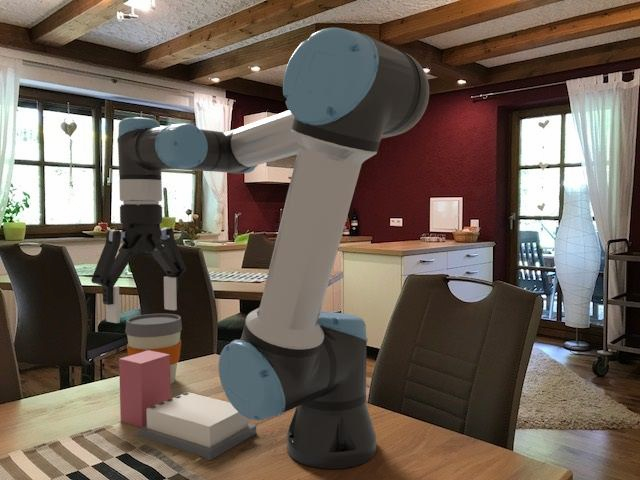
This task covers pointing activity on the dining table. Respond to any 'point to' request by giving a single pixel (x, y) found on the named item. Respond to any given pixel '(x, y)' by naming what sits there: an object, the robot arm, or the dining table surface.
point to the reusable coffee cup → (155, 336)
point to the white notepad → (197, 425)
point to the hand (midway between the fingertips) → (143, 315)
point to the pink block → (143, 384)
